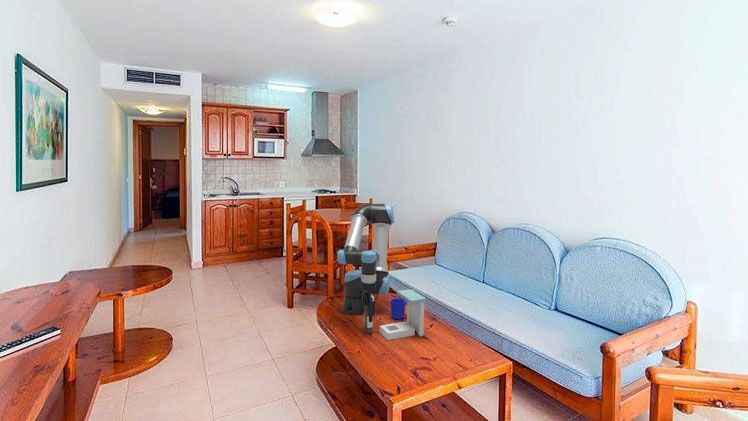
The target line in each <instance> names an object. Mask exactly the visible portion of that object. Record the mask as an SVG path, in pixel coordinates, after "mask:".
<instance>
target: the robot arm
mask: <svg viewBox="0 0 748 421" xmlns="http://www.w3.org/2000/svg"><path fill="white" fill-rule="evenodd" d="M350 222H351V224H350V228H349V229H348V230H349V231H348V235H347V238H346V241H345V244H344V246H343V247H344V248H343V249H339V250H338V251H337V256H336V257H337V262H338V264H342V265H357V266H361V267H360V269H355V270H351V271H347V272H346V273H345V275H344V281H343V282H344V298H343V300H342V305H341V311H342V312H341V313H344V314H347V315H361V314H364V310H365V304H367V305H368V315H367V328H372V329H373V327H374V326H373V324H374V322H373V321H374V316H376V299H377V297H375V295H378V296H387V294H388V293H389V291H390V287H391V281H392V280H391V278H392V276H391V275H390V274H389V270H387V261H388V260H387V259H388V246H389V245H388V244H389V229H390V228H392V224H393V225H394V223H395V215H394V208H393V205H392V204H388V203H364V204H362V205H360V206H358V207H357V208H356V209H355V211H353V213H352V215H351V218H350ZM367 223H370V224H371V226H372V228H373V241H372V242H373V243H372V249H370V250H359V247H360V243H361V240H362V235H363V232H364V228H365V226H366V225H367Z"/></svg>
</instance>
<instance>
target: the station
mask: <svg viewBox="0 0 748 421" xmlns="http://www.w3.org/2000/svg"><path fill="white" fill-rule="evenodd" d="M396 295H397V296H399V298H401V299H404V300H405V302H407V304H406V306H407V307H406V308H407V309H406V310H407V311H406V312H407V316H406V321H401V322H394V323H389V324H382V325H379V334H380V335H382V337H384V338H385V339H386V340H387V341H392V340H395V339H396V340H397V339H402V338H407V337H412V336H413V337H414V336H415V335H416V334H415V332H416V333H417V335H418V336H419V337H423V336H424V332H425V331H424V330H425V328H424V327H425V302H427V298H426V297H425V296H424V295H422V294H419V293H418V292H416V291H415V290H413V289H412V288H411V289H410V288H409V289H402V290H396Z"/></svg>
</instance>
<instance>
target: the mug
mask: <svg viewBox="0 0 748 421" xmlns="http://www.w3.org/2000/svg"><path fill="white" fill-rule="evenodd" d="M406 306H407V301H406V300H405V299H403V298H402V297H395V298H391V299H390V313H391V314H390V315H391V318H392V319H394V320H402V319H403V318H404V316H405V317H407V314H406V312H405V311H406Z"/></svg>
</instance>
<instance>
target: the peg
mask: <svg viewBox="0 0 748 421" xmlns="http://www.w3.org/2000/svg"><path fill="white" fill-rule="evenodd" d="M367 315H368V305H367V304H365V310H364V313H363V330H364V333H365V334H371V333H372V332H373V327H372V328H367Z"/></svg>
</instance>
